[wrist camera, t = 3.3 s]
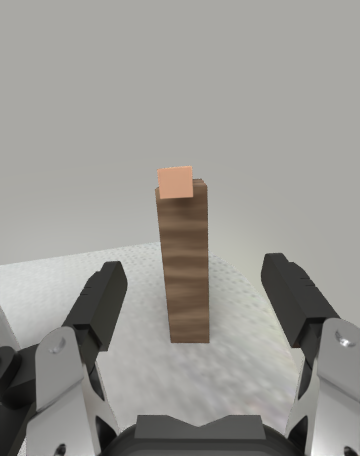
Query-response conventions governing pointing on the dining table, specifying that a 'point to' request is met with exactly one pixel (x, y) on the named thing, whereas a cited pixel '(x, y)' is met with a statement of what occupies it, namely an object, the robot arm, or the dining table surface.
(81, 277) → the dining table surface
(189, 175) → the peach-coloured block
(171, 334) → the stand
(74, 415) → the robot arm
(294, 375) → the dining table surface
